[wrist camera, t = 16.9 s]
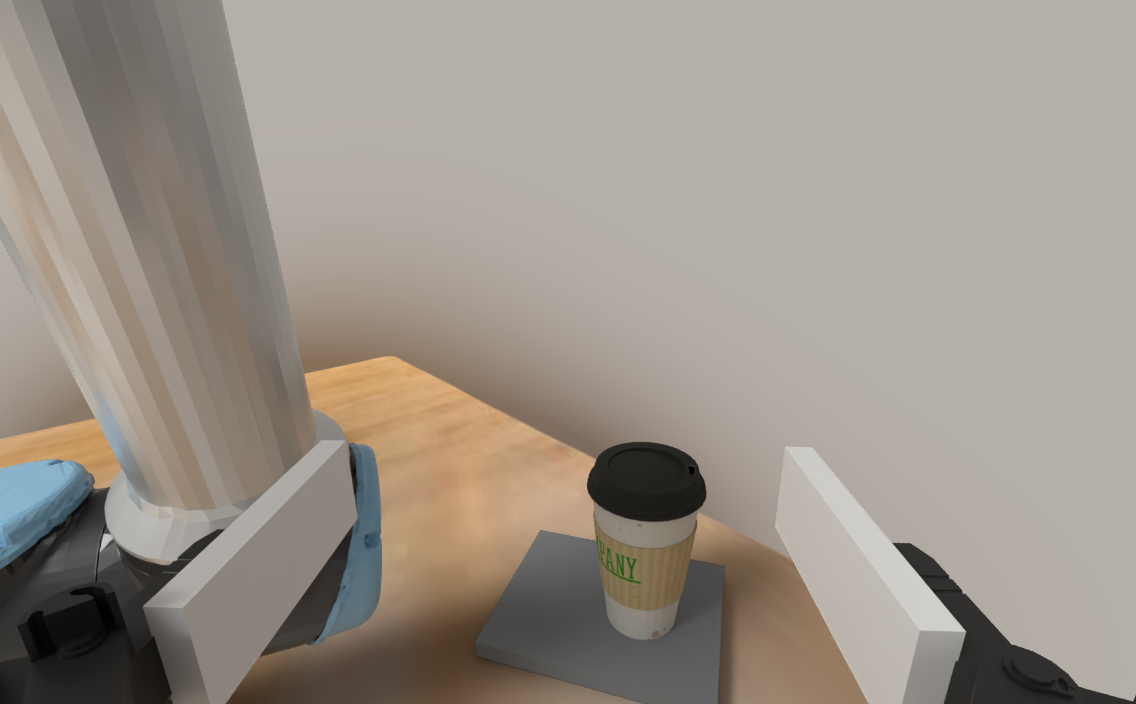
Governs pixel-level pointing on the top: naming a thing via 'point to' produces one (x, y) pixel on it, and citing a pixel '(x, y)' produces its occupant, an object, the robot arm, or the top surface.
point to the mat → (604, 628)
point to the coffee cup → (644, 532)
